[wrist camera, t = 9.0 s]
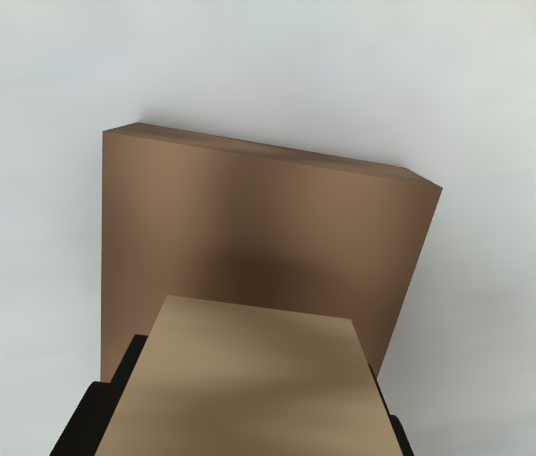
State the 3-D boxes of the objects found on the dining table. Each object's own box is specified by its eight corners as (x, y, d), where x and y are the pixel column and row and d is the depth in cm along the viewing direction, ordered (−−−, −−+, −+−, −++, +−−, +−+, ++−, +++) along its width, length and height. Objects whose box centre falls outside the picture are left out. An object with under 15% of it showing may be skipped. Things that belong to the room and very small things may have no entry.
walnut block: (402, 166, 17) (442, 187, 13) (341, 370, 21) (358, 431, 17) (139, 121, 16) (102, 131, 12) (130, 343, 20) (100, 401, 16)
